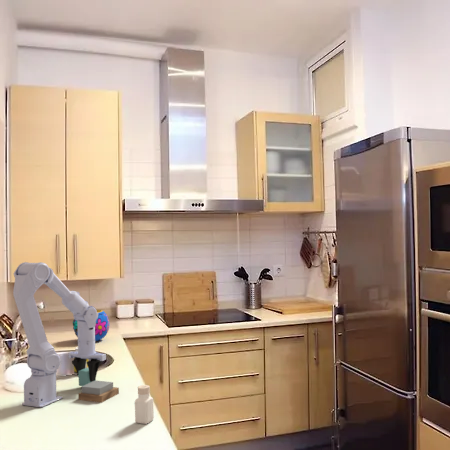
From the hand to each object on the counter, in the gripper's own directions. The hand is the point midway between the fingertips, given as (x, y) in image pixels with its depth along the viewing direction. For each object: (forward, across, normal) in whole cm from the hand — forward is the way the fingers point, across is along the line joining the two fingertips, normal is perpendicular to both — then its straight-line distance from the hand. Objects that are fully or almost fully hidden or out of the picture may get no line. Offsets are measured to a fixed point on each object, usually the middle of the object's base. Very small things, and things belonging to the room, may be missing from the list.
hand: (87, 380), depth 167 cm
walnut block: (+3, -10, +7) cm, 13 cm away
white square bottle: (+3, -36, +21) cm, 42 cm away
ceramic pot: (+3, +49, -65) cm, 81 cm away
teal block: (+1, 0, 0) cm, 1 cm away
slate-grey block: (0, -10, +7) cm, 12 cm away
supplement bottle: (+3, +14, -14) cm, 20 cm away
